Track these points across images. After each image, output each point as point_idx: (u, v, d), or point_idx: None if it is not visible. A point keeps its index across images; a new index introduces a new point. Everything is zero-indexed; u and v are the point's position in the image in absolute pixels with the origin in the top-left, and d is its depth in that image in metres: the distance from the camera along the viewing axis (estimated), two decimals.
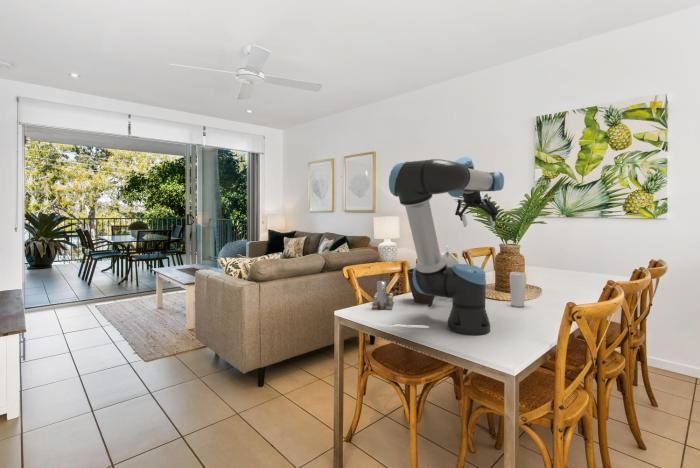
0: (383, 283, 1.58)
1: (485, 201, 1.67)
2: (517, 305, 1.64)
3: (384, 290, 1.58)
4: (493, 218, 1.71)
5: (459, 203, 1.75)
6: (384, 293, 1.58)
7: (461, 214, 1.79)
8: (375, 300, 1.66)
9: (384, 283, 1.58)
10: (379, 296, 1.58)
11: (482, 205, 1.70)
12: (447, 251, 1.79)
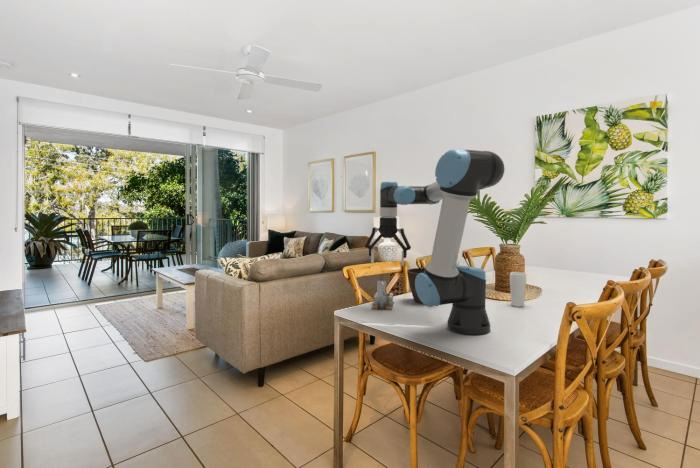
0: (383, 283, 1.58)
1: (401, 231, 1.60)
2: (517, 305, 1.64)
3: (384, 290, 1.58)
4: (404, 254, 1.61)
5: (373, 232, 1.63)
6: (384, 293, 1.58)
7: (372, 246, 1.64)
8: (375, 300, 1.66)
9: (384, 283, 1.58)
10: (379, 296, 1.58)
11: (396, 237, 1.61)
12: None
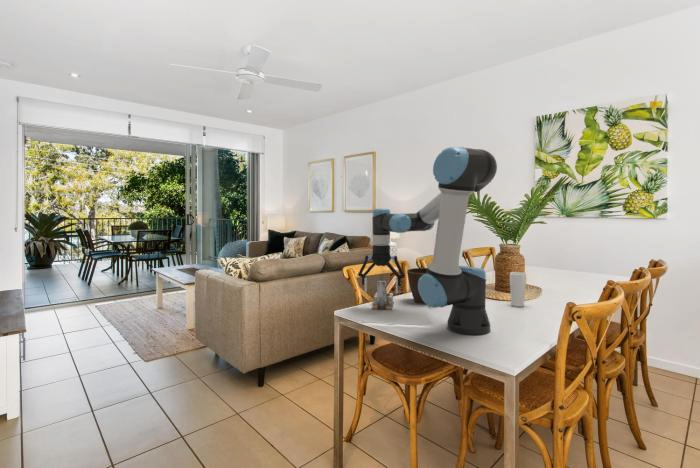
0: (383, 283, 1.58)
1: (395, 259, 1.57)
2: (517, 305, 1.64)
3: (384, 290, 1.58)
4: (399, 282, 1.58)
5: (366, 260, 1.59)
6: (384, 293, 1.58)
7: (365, 275, 1.60)
8: (375, 300, 1.66)
9: (384, 283, 1.58)
10: (379, 296, 1.58)
11: (390, 265, 1.58)
12: None
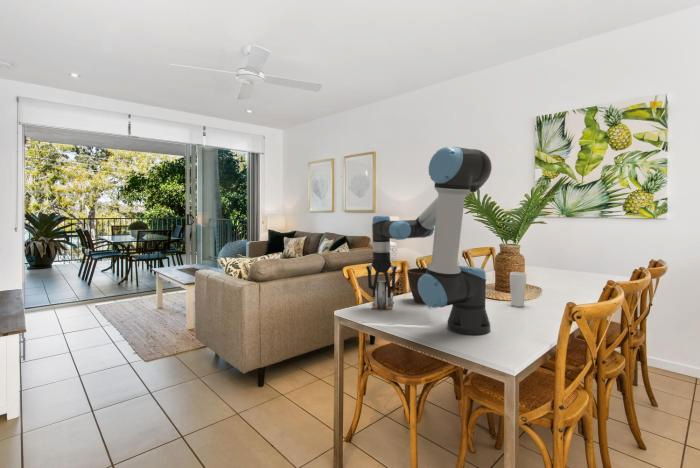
0: (383, 283, 1.58)
1: (394, 269, 1.57)
2: (517, 305, 1.64)
3: (384, 290, 1.58)
4: (389, 293, 1.59)
5: (368, 270, 1.59)
6: (384, 293, 1.58)
7: (375, 286, 1.59)
8: None
9: (384, 283, 1.58)
10: (379, 296, 1.58)
11: (387, 274, 1.58)
12: None
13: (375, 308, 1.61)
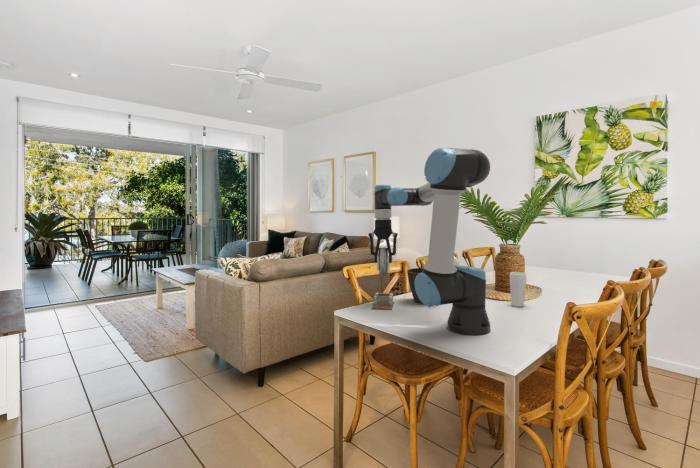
0: (385, 249, 1.66)
1: (395, 235, 1.65)
2: (517, 305, 1.64)
3: (386, 256, 1.66)
4: (390, 259, 1.67)
5: (371, 237, 1.67)
6: (386, 259, 1.66)
7: (376, 252, 1.67)
8: (375, 300, 1.66)
9: (386, 249, 1.66)
10: (381, 261, 1.66)
11: (388, 240, 1.66)
12: None
13: (375, 308, 1.61)
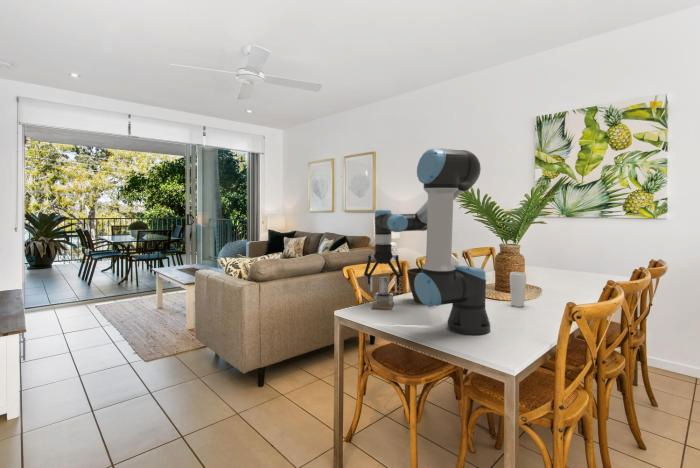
0: (385, 279, 1.67)
1: (396, 258, 1.65)
2: (517, 305, 1.64)
3: (386, 286, 1.67)
4: (397, 281, 1.67)
5: (369, 259, 1.68)
6: (386, 288, 1.67)
7: (370, 274, 1.68)
8: (375, 300, 1.66)
9: (386, 279, 1.67)
10: (381, 291, 1.67)
11: (391, 263, 1.67)
12: None
13: (375, 308, 1.61)
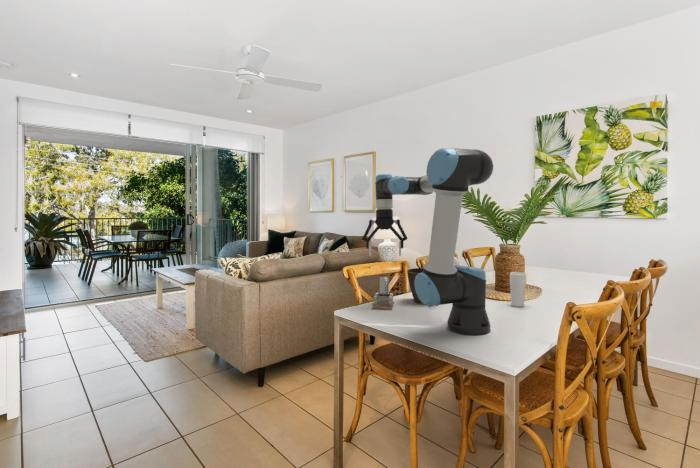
0: (385, 279, 1.67)
1: (398, 222, 1.64)
2: (517, 305, 1.64)
3: (387, 286, 1.67)
4: (402, 244, 1.65)
5: (370, 224, 1.66)
6: (386, 288, 1.67)
7: (369, 238, 1.66)
8: (375, 300, 1.66)
9: (386, 279, 1.67)
10: (382, 291, 1.67)
11: (393, 228, 1.65)
12: None
13: (375, 308, 1.61)
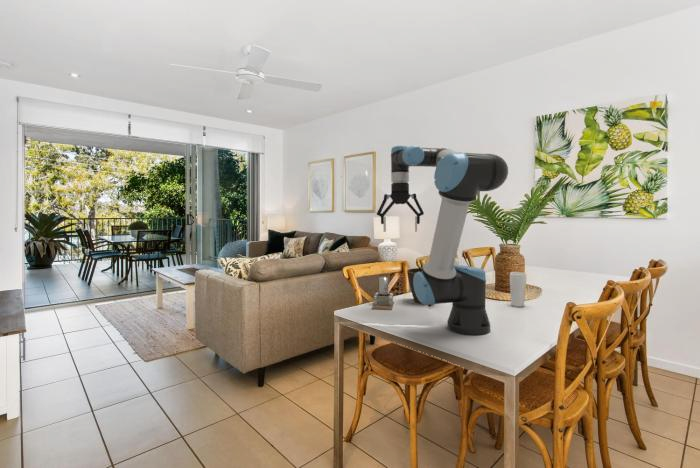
0: (385, 279, 1.67)
1: (414, 196, 1.57)
2: (517, 305, 1.64)
3: (386, 285, 1.67)
4: (418, 220, 1.58)
5: (385, 198, 1.59)
6: (386, 288, 1.67)
7: (384, 213, 1.60)
8: (375, 300, 1.66)
9: (386, 279, 1.67)
10: (381, 291, 1.67)
11: None
12: None
13: (375, 308, 1.61)
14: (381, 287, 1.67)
